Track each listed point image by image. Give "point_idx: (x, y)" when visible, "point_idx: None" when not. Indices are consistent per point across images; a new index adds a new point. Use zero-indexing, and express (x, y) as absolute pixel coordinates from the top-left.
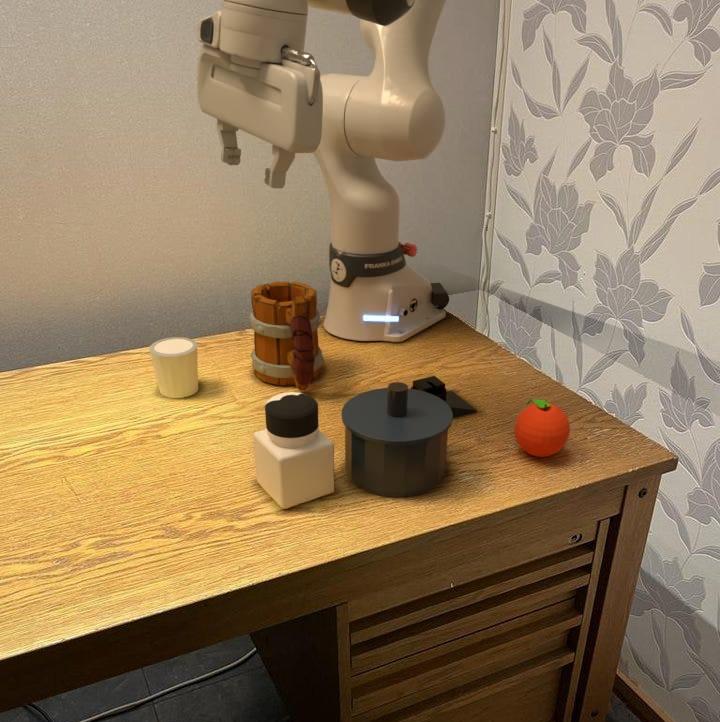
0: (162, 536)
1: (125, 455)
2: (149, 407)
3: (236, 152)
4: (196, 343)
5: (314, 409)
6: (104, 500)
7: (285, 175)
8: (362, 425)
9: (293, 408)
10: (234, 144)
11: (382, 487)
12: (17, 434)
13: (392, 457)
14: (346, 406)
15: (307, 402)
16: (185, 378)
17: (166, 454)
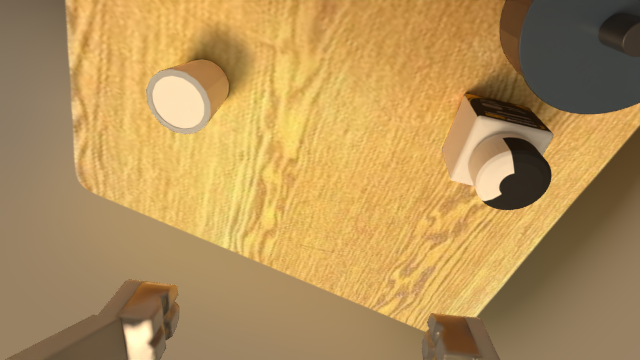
0: (435, 244)
1: (303, 199)
2: (227, 132)
3: (157, 328)
4: (185, 73)
5: (550, 172)
6: (355, 244)
7: (492, 347)
8: (583, 96)
9: (531, 196)
10: (109, 335)
11: None
12: (208, 235)
13: None
14: (528, 72)
15: (538, 175)
16: (221, 96)
17: (328, 175)
